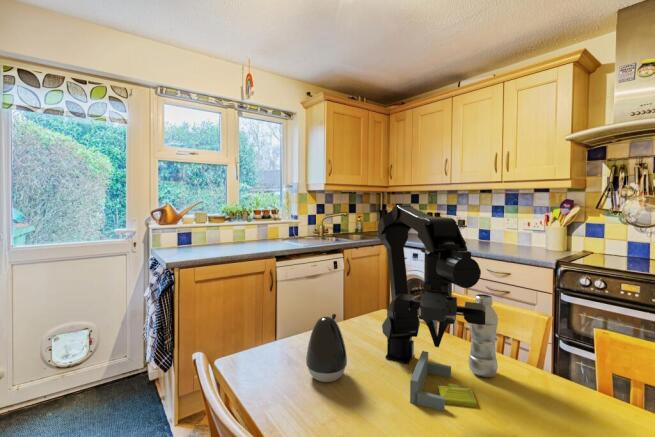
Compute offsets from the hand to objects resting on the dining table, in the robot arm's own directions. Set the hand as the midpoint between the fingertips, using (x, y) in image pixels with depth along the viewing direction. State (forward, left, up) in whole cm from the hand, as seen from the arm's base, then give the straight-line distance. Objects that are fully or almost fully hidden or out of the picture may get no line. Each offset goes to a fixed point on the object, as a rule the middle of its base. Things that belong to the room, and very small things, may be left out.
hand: (437, 346), depth 70 cm
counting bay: (-2, +4, -12) cm, 13 cm away
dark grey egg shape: (-26, -2, -12) cm, 29 cm away
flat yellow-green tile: (+4, +3, -13) cm, 14 cm away
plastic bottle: (+9, +16, -12) cm, 22 cm away
